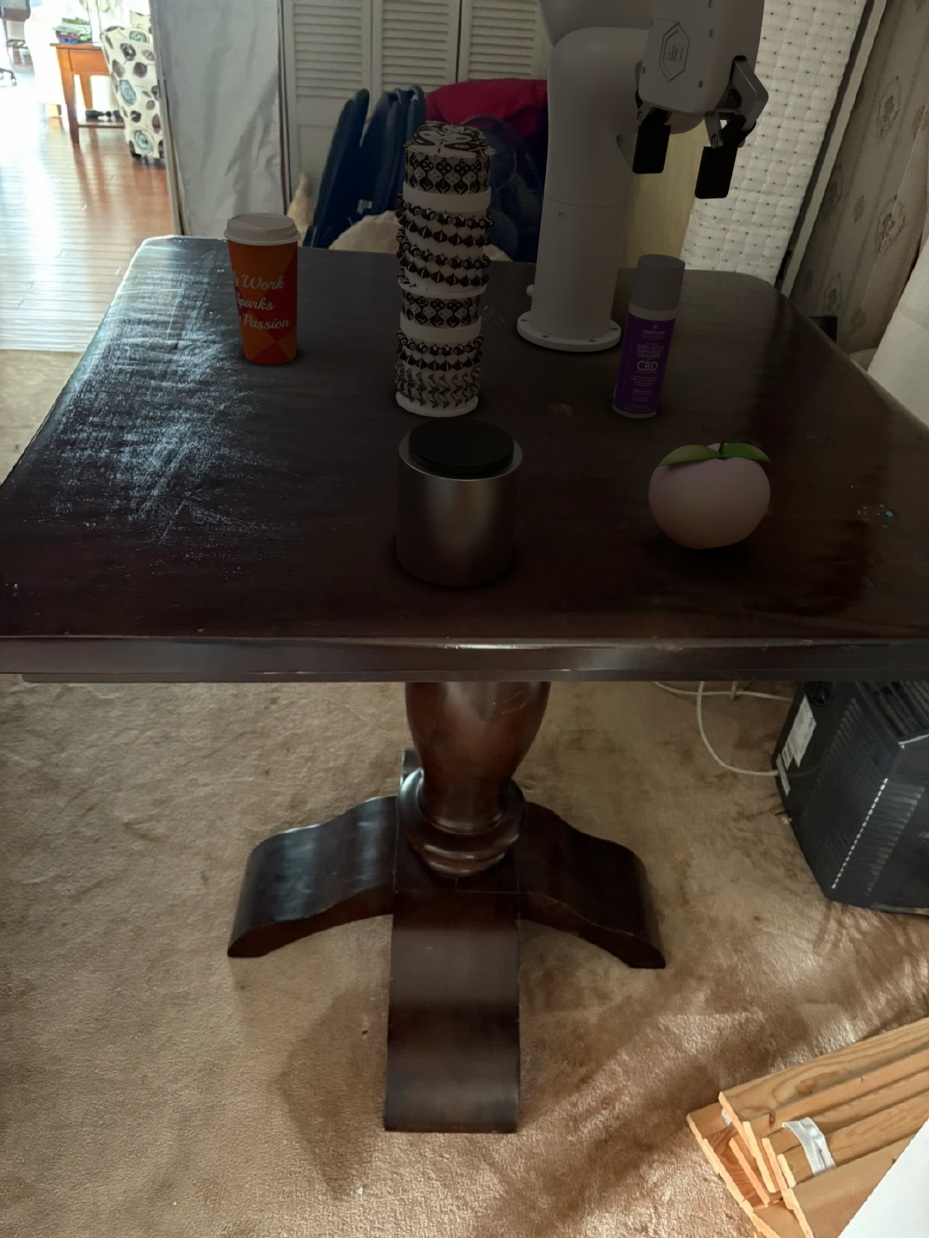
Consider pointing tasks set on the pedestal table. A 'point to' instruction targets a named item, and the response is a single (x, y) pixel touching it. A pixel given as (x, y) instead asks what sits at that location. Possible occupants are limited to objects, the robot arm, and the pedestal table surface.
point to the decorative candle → (442, 268)
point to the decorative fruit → (710, 494)
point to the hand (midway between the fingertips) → (677, 185)
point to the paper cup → (265, 284)
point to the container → (648, 335)
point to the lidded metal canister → (457, 501)
